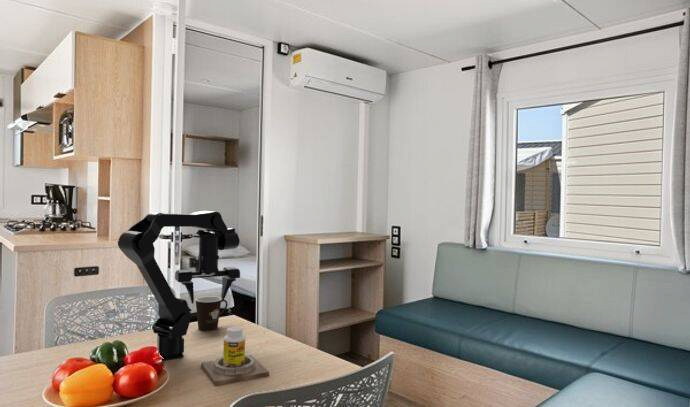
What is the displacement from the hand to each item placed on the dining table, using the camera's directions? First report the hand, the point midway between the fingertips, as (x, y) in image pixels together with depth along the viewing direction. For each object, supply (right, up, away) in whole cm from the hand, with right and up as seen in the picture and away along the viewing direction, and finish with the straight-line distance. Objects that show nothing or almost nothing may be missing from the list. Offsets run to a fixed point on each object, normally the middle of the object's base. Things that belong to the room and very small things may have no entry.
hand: (207, 301), depth 144 cm
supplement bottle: (+13, -13, -21) cm, 28 cm away
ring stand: (+13, -14, -21) cm, 28 cm away
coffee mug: (-3, -13, +17) cm, 22 cm away
